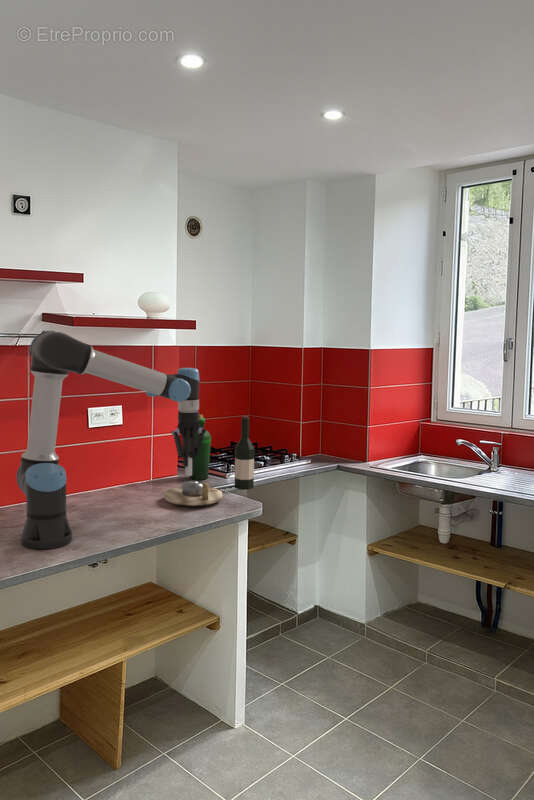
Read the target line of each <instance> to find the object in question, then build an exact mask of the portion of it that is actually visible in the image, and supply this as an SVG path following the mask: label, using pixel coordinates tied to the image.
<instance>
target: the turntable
mask: <svg viewBox="0 0 534 800" xmlns="http://www.w3.org/2000/svg"><path fill="white" fill-rule="evenodd" d="M222 499H223V492H222V491H221V490H219V489H217V488H214V487H209V482H205V483H202V496H199V497H189V496H184V495H183V494H182V486H179V487H178V486H177V487H174V488H171V489H168V490H166V491H165V492H164V500H165V501H167V502H169V503H170V504H174V505H176V504H179V505H207V504H211V505H212V503H213V504H215V503H218V502H220V501H222ZM179 505H178V506H179Z"/></svg>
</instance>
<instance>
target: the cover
mask: <svg viewBox="0 0 534 800" xmlns="http://www.w3.org/2000/svg"><path fill="white" fill-rule="evenodd" d="M202 483H206V482H205V481H204V480H186V481H183V482H182V484H181V487H182V494H183V495H184V496H189V497H199V496H202Z"/></svg>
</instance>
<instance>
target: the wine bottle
mask: <svg viewBox="0 0 534 800" xmlns="http://www.w3.org/2000/svg"><path fill="white" fill-rule="evenodd" d="M240 425H241V431H240V432H241V433H240V439H239V441H238V442H237V444H236V445H235V448H234V488H235V489H236V490H237V489H238V490H241V491H242V490H246V491H247V490H252V489H254V481H255V480H254V479H255V477H254V476H255V447H254V445H253V443H252V441H251V439H250V417H249V416H248V415H243V416H242V417H241V423H240Z"/></svg>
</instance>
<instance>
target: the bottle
mask: <svg viewBox="0 0 534 800" xmlns="http://www.w3.org/2000/svg"><path fill="white" fill-rule="evenodd" d="M205 424H206V419H205V417H204V415H203V414H199V425H200V427H201V428H202V429H205ZM197 434H198V431H197V433H196V434H195V442H196V438H197ZM211 445H212V435H211V434H210V432H209V431H208V430H206V431H205V433H204V435H203V439H202V443H201V448H200V453H199V455H197V456H196V457H195V458H194V466H192V476H188V479H190V480H191V481H205V480H207V479H208V478H209V472H210V471H209V470H210V462H211V461H210V459H211ZM188 457H190V456H189V440H188Z"/></svg>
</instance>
